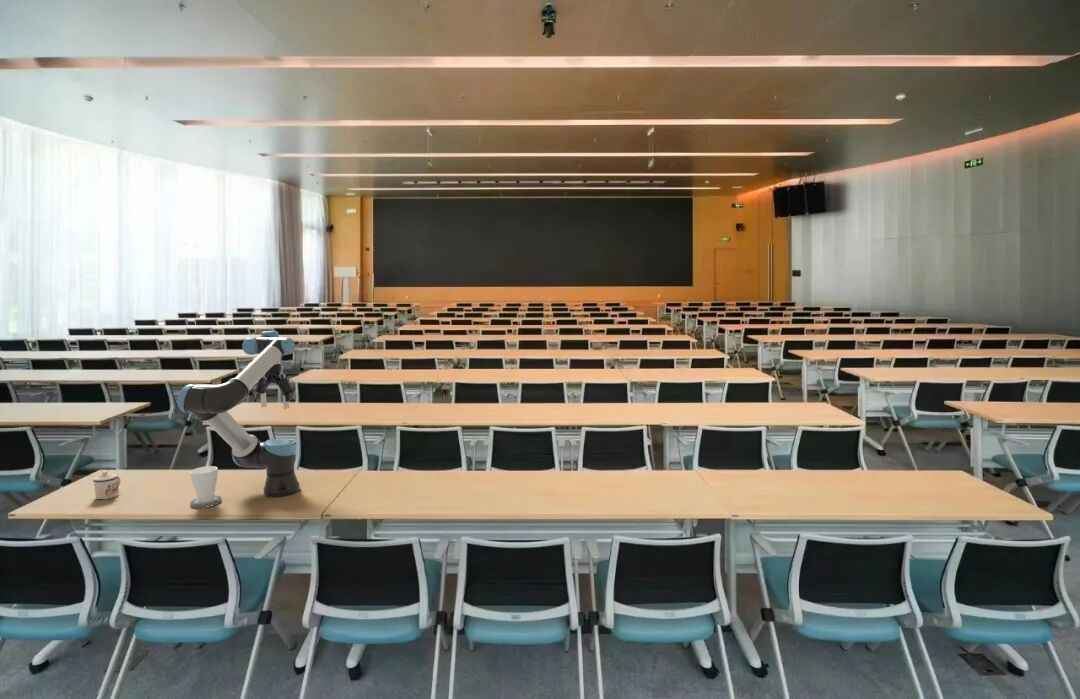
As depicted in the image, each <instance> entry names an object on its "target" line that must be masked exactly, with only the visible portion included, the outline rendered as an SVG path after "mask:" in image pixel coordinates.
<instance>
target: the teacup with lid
mask: <svg viewBox="0 0 1080 699" xmlns="http://www.w3.org/2000/svg"><path fill="white" fill-rule="evenodd" d="M121 481H122V480H121V478H120V477H119V475H118V474H116V473H111V472H108V470H104V471H102V473H100V474H99V475H97V476H95V477H94V478H93V480H92V482H93V483H94V484H93V487H94V495H95V499H96V500H98V499H105V500H109V499H108V498H110V499H112V498H113V497H114V498H116V497H118V496H119V495H120V493H119V492H120V491H119V487H120V485H121ZM114 498H113V499H114Z"/></svg>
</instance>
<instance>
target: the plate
mask: <svg viewBox="0 0 1080 699" xmlns="http://www.w3.org/2000/svg"><path fill="white" fill-rule="evenodd" d="M222 501H223V500H222V496H219V495H214V500H212V501H210V502H204V503H201V502H199V501H198V497H196V498H193V499H192V500H190V502H189V506H191V507H190V508H192V509H203V508H202V507H206V508H208V507H207V506H211V505H214V506H216V505H215V504H217V503H219V504H220V503H222ZM217 505H218V504H217ZM211 507H212V506H211Z"/></svg>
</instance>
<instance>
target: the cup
mask: <svg viewBox="0 0 1080 699" xmlns="http://www.w3.org/2000/svg"><path fill="white" fill-rule="evenodd" d="M218 470H219V468H218V467H217V466H215V465H214V466H212V465H208V466H201V467H197V468H194V469H192V470H190V472H189V475H190V480H191V482H192V485H193V488H194V490H195V493H196V496H197V497H196V498H198V501H199V502H201V503H204V502H210V501H212V500H214V496H215V492H216V485H217V480H218V473H219V472H218Z"/></svg>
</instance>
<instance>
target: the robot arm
mask: <svg viewBox="0 0 1080 699" xmlns="http://www.w3.org/2000/svg"><path fill="white" fill-rule="evenodd" d="M260 334H261V336H257V337H250V338H246V339H245V340H243V342H242V345H241V346H242V351H243V352H244V354H246V355H248V356H249V355H252V356H255V355H257V356H256V357H255V358H254V359H253V360H252V361H251V362H249V363H248V365H246V366H245V368H243V369H242V370H241V371H240V372H239V373H238V374H237V375H236V376H235V377H234V378H233V377H232V378H229V379H227V380H228V381H226V382H224V383H221V384H204V383H203V384H198V383H192V384H186V385H184V386H183V387H182V388H181V390H179V393H178V395H177V406H178V408H179V410H180V411H181V412H183V413H185V414H191V415H193V416H194V417H195V418H196V419H197V420H198V421H199V422H205V423H207V424H208V425H209V426H210V427H211V428H212V429H213V431H215V433H217V434H218V436H220V437H221V438H222V440H223V441H225V443H227V444H228V445H229V446H230V447H231V456H232V461H233V462H234V464H235V465H237V466H238V467H240V468H241V467H242V468H246V469H247V468H249V469H250V468H251V469H252V468H253V469H266V479H265V482H264V483H265V484H264V487H263V495H264V494H265V495H266V497H269V496H272V497H273V498H277V497H286V496H290V495H293V494H296V493H298V492H299V491H300V490H301V488H300V487H301V486H300V482H299V481H298V478H297V476H296V475H297V474H296V473H295V458H294V457H295V455H294V447H293V443H292V441H290V440H289V439H285V438H272V439H267V440H266V441H260V440H259V439H258V437H257V436H256V435H254V434H249V433H248V432H247V431H246V430H245V429H244V428H243V427H242V426H241V424H240V423H238V421H237V420H235V418H234V417H233V416H232V415H231V414H230V413H229V411H230V410H232V409H233V408H235V407H236V406H238V405H239V404H240V403H242V402H243V401H244V400H245V399H246V398H247V397H248V396H249V394H250V390H251V389H252V388H254V386H255V385H256V389H255V392H256V393H258V394H259V400H260V407H261V408H265V407H267V406H268V404H267V393H266V390H267V389H268V387H269V385H270V384H275V385H277V386H278V388H279V389H280V391H281V392H282V393H283V395H282V399H283V400H282V401H283V409H284V410H287V409H290V401H291V400H290V399H291V397H290V395H291V394H293V393H294V391H293V388H292V386H291V384H290V382H289V380H288V378H287V377H288V376H287V374H286V373H282V374H281V371H282V364H281V361H282V360H281V358H282V357H283V356H284V355H285V356H287V355H291V354H293V353H294V351H295V349H296V345H295V344H296V343H295V342H294V340H293V339H292V338H291V337H285V336H284V337H280V336H279V335H280V334H279V332H278V331H277V330H266V331H261V332H260ZM265 495H264V496H265Z"/></svg>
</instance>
